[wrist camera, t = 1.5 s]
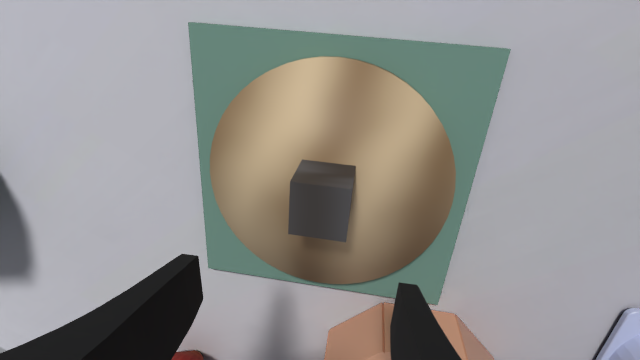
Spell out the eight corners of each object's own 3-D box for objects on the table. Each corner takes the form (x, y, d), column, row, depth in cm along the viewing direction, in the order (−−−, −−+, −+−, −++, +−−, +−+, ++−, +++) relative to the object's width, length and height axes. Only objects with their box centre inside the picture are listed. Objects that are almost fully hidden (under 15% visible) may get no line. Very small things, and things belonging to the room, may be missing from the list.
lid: (482, 69, 17) (509, 80, 13) (425, 290, 23) (434, 338, 19) (207, 45, 18) (169, 49, 15) (221, 259, 24) (195, 298, 21)
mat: (507, 48, 17) (510, 49, 16) (436, 299, 24) (437, 304, 23) (192, 22, 18) (188, 22, 18) (211, 263, 25) (208, 268, 25)
